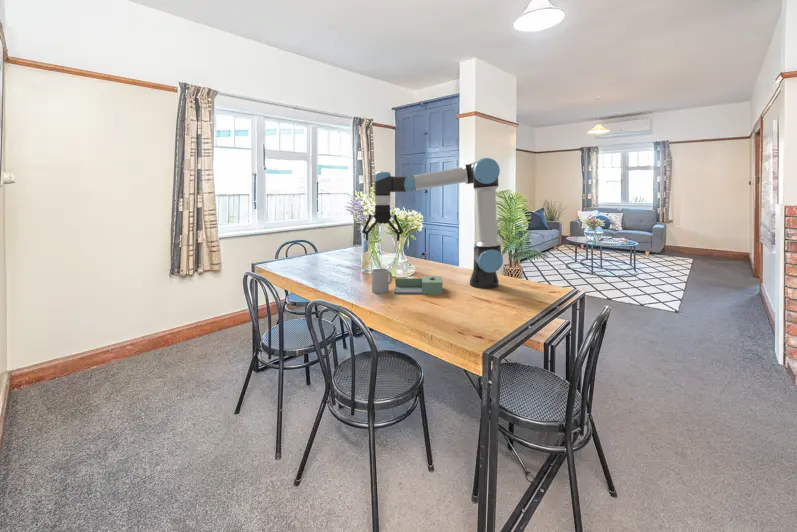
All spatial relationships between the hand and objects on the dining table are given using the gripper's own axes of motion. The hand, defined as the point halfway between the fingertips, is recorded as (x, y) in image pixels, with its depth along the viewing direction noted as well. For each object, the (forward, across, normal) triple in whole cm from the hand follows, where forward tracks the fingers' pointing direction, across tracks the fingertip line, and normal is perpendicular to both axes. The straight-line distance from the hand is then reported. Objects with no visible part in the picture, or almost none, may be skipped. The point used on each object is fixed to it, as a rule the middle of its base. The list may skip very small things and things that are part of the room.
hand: (382, 247), depth 195 cm
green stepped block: (+22, -19, +1) cm, 29 cm away
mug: (+23, 0, 0) cm, 23 cm away
